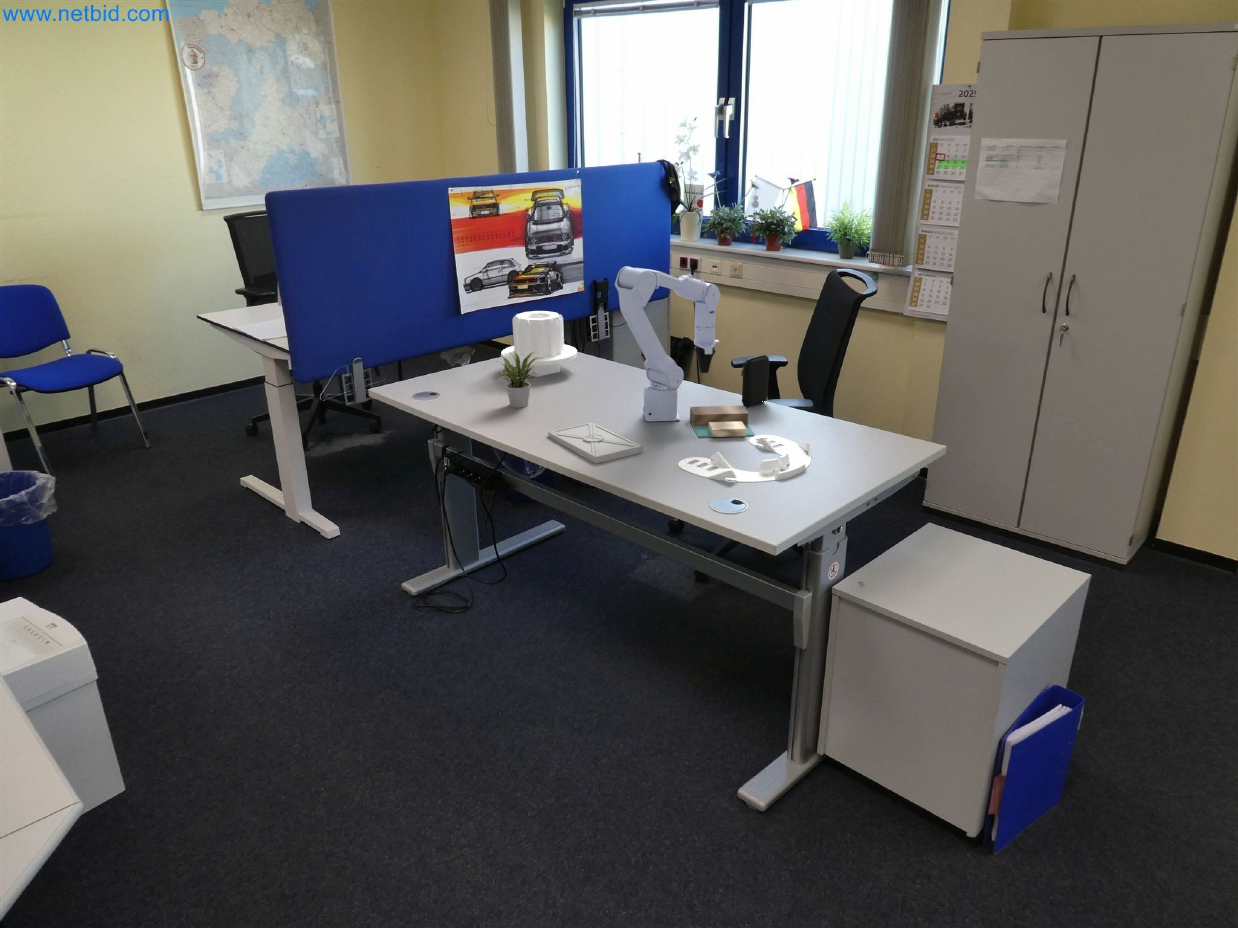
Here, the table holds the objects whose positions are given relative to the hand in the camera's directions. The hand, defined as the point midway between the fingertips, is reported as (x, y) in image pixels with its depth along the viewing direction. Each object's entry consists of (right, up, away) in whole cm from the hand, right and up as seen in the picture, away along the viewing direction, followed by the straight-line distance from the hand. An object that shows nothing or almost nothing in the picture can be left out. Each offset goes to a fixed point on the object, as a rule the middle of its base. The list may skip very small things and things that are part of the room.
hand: (704, 372), depth 246 cm
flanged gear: (-51, +4, +41) cm, 65 cm away
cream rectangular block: (+4, -16, -19) cm, 25 cm away
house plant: (-53, -9, +7) cm, 54 cm away
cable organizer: (+9, -26, -36) cm, 45 cm away
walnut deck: (+3, -15, -9) cm, 17 cm away
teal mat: (+4, -18, -16) cm, 24 cm away
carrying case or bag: (+15, -10, +4) cm, 18 cm away
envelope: (-31, -22, -24) cm, 45 cm away
